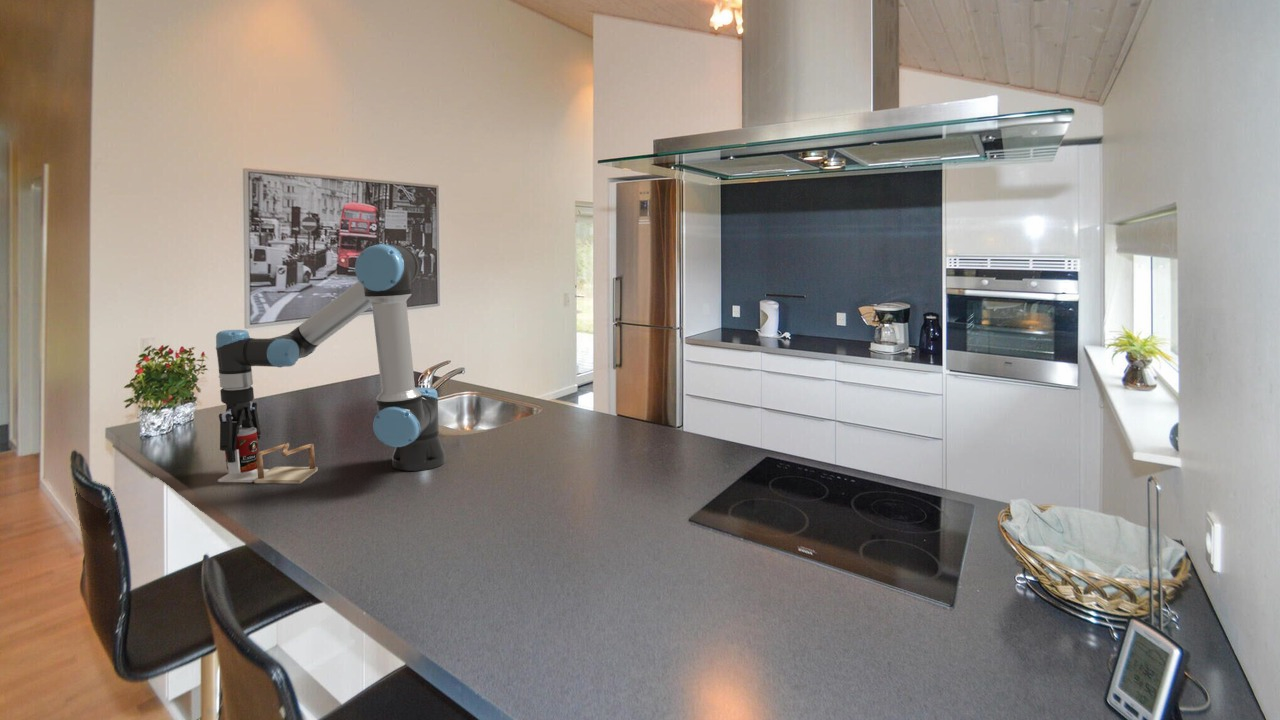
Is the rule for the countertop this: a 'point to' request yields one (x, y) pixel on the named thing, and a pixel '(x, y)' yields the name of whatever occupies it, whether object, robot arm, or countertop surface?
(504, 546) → the countertop surface
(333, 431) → the countertop surface
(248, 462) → the canned food
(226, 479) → the coaster
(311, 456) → the wooden zigzag stand
